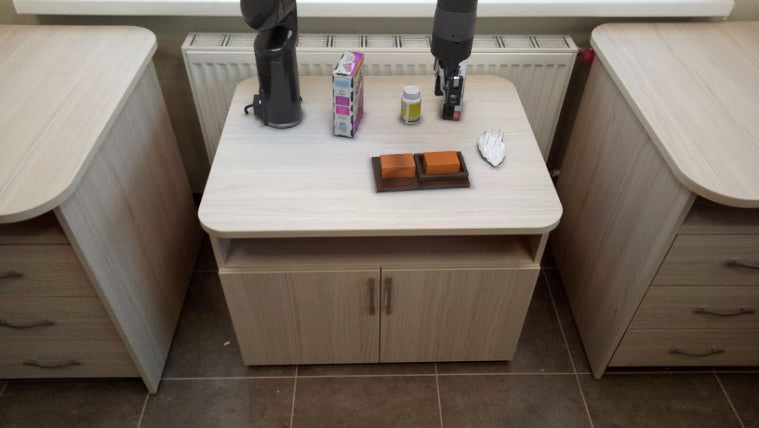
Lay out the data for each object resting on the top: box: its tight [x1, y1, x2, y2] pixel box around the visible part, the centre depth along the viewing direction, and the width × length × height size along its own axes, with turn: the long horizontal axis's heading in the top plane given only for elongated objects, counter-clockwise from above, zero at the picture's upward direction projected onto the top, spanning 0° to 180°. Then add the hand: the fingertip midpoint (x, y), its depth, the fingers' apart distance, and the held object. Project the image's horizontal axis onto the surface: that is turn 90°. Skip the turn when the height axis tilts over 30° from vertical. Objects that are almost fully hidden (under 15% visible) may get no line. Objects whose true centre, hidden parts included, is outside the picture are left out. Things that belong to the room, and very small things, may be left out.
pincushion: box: [477, 128, 507, 167], centre depth 123 cm, size 12×6×6 cm, turn 1°
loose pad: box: [423, 150, 460, 174], centre depth 117 cm, size 7×4×3 cm, turn 96°
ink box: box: [440, 61, 468, 121], centre depth 133 cm, size 9×5×12 cm, turn 168°
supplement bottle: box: [400, 84, 422, 125], centre depth 131 cm, size 5×5×8 cm
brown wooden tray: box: [371, 150, 471, 194], centre depth 117 cm, size 20×11×4 cm, turn 96°
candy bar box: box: [331, 50, 365, 139], centre depth 126 cm, size 11×5×16 cm, turn 168°
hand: (443, 106), depth 108 cm, fingers open, 8 cm apart
